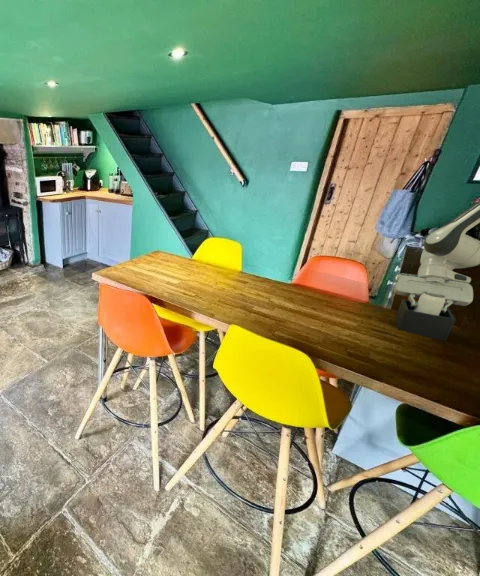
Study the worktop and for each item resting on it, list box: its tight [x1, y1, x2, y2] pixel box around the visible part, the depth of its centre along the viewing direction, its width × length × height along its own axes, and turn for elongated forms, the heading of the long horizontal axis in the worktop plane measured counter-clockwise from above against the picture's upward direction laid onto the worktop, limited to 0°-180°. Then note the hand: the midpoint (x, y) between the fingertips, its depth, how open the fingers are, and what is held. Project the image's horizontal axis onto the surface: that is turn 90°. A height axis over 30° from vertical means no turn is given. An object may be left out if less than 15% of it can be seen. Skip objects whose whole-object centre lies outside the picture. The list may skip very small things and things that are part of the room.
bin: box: [394, 299, 457, 342], centre depth 114 cm, size 13×13×9 cm
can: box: [414, 292, 446, 316], centre depth 113 cm, size 6×6×12 cm
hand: (428, 309), depth 112 cm, fingers closed on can, 6 cm apart
